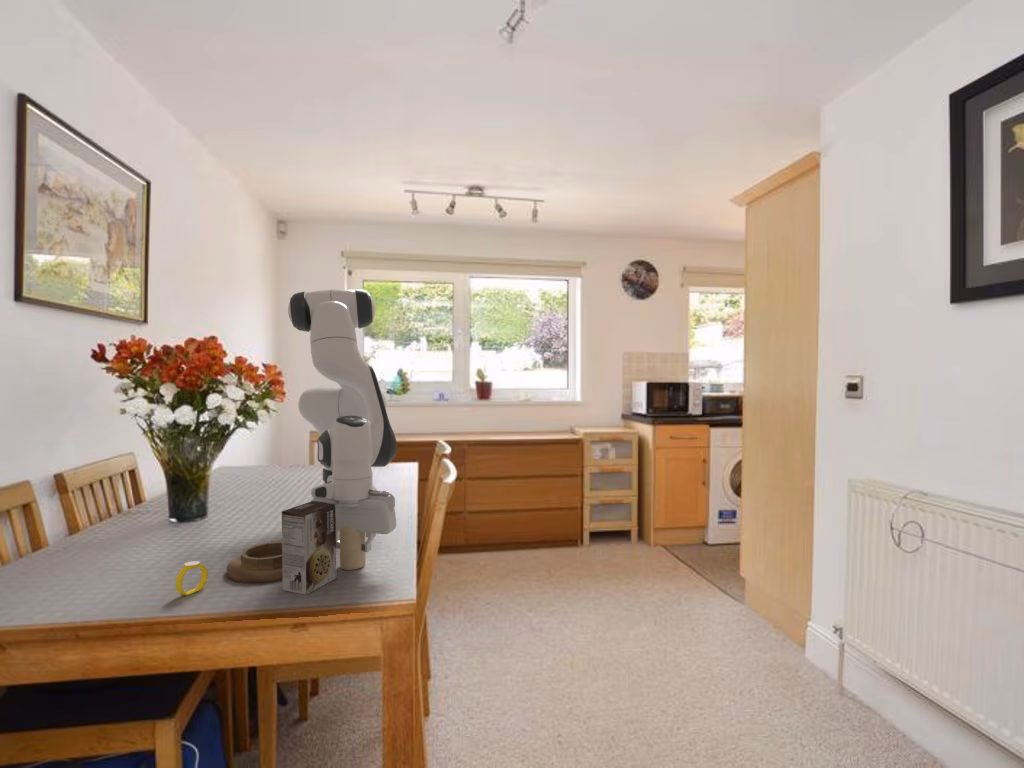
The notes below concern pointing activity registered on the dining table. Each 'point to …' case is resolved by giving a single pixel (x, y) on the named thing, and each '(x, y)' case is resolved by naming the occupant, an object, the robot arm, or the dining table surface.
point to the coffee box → (308, 546)
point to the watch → (181, 574)
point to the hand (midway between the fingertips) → (352, 549)
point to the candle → (351, 549)
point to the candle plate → (252, 575)
